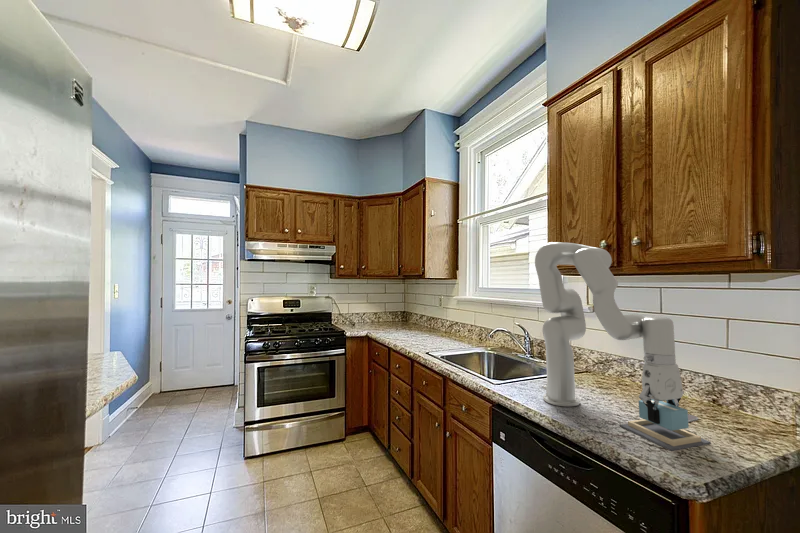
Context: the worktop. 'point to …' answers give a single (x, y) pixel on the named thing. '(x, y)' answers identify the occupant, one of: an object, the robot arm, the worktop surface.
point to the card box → (667, 415)
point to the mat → (664, 435)
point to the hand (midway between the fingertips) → (663, 420)
